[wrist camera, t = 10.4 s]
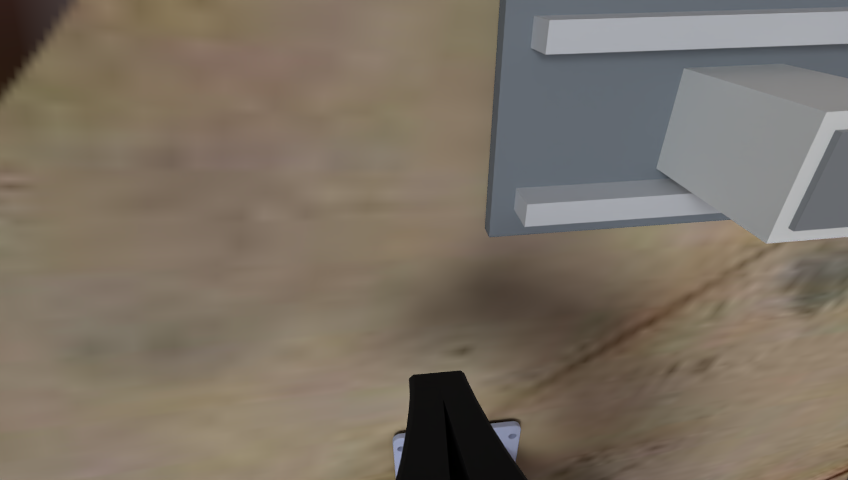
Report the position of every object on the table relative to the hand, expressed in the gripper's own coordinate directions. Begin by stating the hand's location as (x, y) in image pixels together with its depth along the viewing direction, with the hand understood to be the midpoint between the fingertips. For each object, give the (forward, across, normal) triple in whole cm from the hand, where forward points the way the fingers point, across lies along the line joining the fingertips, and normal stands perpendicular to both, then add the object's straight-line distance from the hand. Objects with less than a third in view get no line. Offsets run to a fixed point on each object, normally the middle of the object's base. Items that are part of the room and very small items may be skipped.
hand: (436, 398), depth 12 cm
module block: (+9, -12, -4) cm, 16 cm away
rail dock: (+9, -12, -5) cm, 16 cm away
